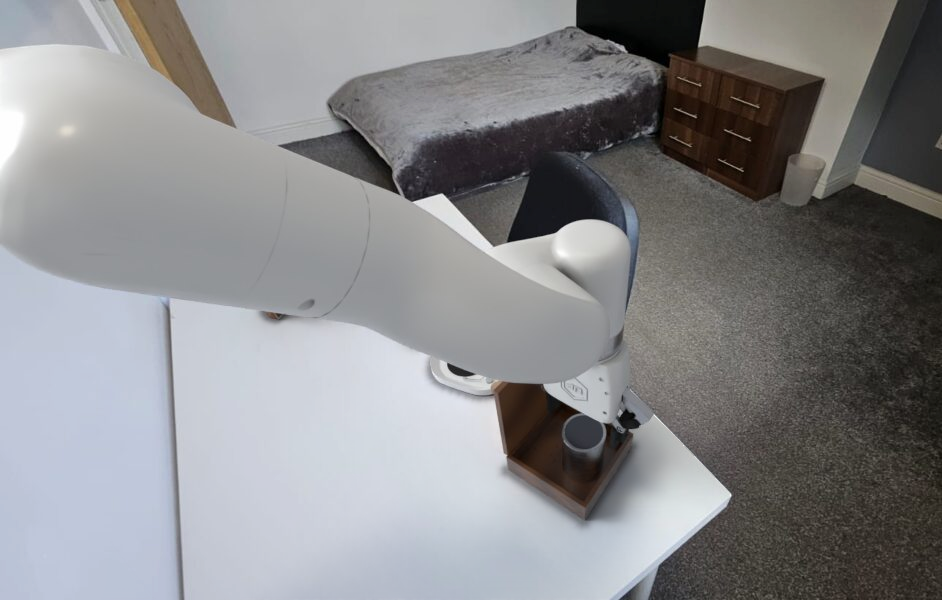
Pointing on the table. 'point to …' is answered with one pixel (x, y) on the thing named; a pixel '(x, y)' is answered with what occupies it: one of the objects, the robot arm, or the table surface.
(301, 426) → the table surface
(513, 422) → the lid
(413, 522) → the table surface
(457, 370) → the record player
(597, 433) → the steel cup
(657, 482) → the table surface
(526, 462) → the storage box
